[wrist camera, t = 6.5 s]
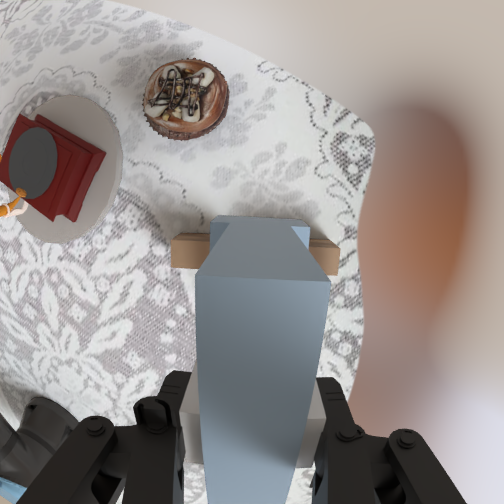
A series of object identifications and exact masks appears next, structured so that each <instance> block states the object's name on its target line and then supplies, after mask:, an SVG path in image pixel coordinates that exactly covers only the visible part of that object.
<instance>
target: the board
mask: <svg viewBox="0 0 504 504" xmlns="http://www.w3.org/2000/svg"><path fill="white" fill-rule="evenodd" d="M308 250H309V252H310V253H311V254H312V256H313V257H314V259H315V260H316V261H317V263H318V264H319V265H320V267H321V268H322V270H323V271H324V272H325V274H326V275H335V276H337V274H338V266H339V257H340V248H339V247H338V246H337V245H335V244H334V243H333V242H332V241H330V240H321V239H309V249H308ZM209 253H210V234H203V233H180V234H179V235H177V236H176V237H175V238H173V239H172V240H171V267H173V268H189V269H199V268H200V267H201V265H202V264H203V262H204V261H205V259H206V258H207V256H208V255H209Z"/></svg>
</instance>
